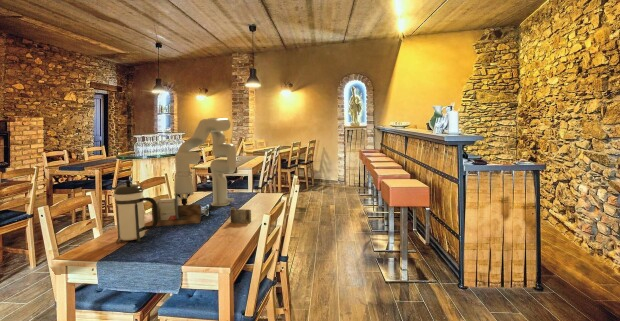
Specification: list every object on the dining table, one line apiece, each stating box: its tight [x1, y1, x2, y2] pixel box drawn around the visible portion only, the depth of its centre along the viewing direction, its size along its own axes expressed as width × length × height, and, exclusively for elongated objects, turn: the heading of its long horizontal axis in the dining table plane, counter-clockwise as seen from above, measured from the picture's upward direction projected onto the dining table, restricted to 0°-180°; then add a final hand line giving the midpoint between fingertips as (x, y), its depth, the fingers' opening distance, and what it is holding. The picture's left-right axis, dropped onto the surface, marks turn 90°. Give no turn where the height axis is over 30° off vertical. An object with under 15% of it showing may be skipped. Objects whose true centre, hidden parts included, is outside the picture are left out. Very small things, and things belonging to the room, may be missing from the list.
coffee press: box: [111, 179, 158, 244], centre depth 175 cm, size 17×16×30 cm
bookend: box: [174, 194, 187, 220], centre depth 208 cm, size 5×9×14 cm, turn 14°
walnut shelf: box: [151, 198, 202, 227], centre depth 208 cm, size 25×16×12 cm, turn 104°
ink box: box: [159, 197, 176, 220], centre depth 206 cm, size 9×5×12 cm, turn 98°
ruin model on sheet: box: [229, 206, 252, 224], centre depth 204 cm, size 11×3×10 cm, turn 83°
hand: (184, 205), depth 208 cm, fingers closed
